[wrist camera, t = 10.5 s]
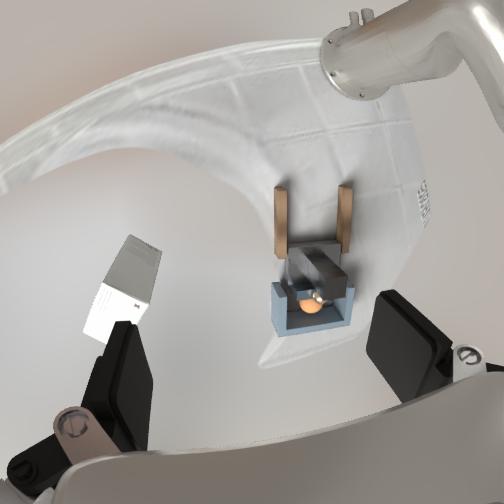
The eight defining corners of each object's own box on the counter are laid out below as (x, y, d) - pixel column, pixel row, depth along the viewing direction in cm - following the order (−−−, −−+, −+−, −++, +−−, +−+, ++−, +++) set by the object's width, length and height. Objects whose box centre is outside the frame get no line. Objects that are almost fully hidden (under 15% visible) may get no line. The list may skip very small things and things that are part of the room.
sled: (285, 243, 46) (306, 270, 36) (335, 239, 47) (366, 263, 38) (284, 290, 48) (303, 324, 39) (332, 284, 50) (358, 315, 40)
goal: (271, 282, 48) (279, 297, 43) (342, 274, 50) (355, 287, 45) (271, 320, 51) (278, 337, 46) (338, 310, 52) (349, 325, 48)
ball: (300, 319, 48) (294, 299, 51) (323, 315, 49) (316, 296, 51) (305, 306, 45) (298, 285, 48) (329, 302, 46) (321, 282, 48)
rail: (274, 188, 43) (278, 190, 40) (345, 186, 44) (352, 188, 42) (274, 253, 46) (278, 259, 44) (342, 246, 48) (348, 252, 46)
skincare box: (129, 232, 41) (100, 276, 28) (165, 252, 43) (151, 302, 30) (108, 277, 43) (78, 332, 30) (142, 295, 45) (124, 355, 32)
